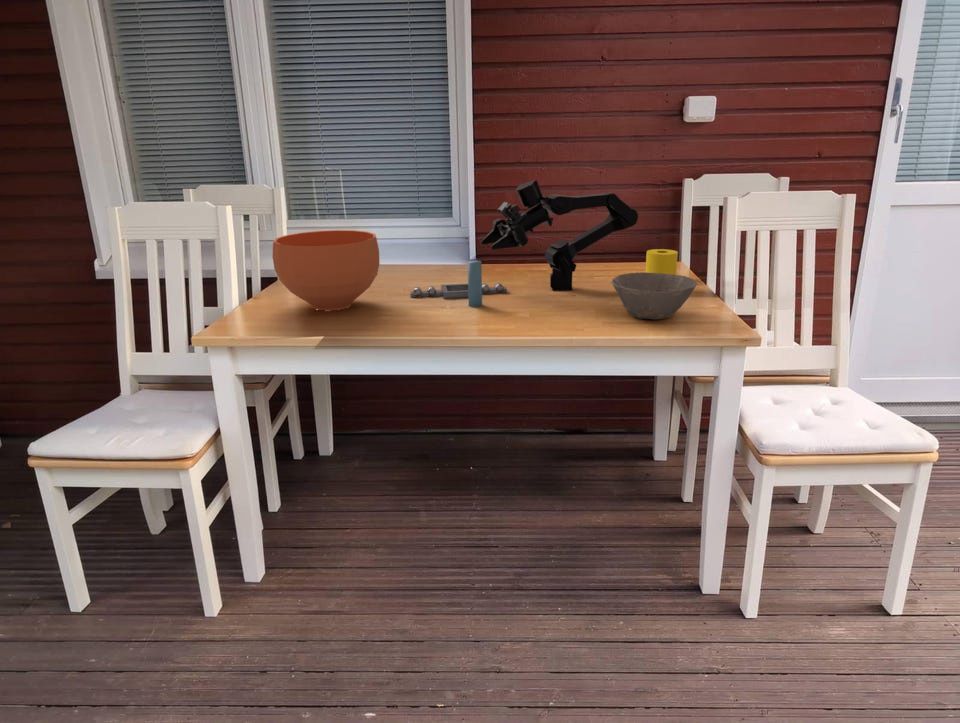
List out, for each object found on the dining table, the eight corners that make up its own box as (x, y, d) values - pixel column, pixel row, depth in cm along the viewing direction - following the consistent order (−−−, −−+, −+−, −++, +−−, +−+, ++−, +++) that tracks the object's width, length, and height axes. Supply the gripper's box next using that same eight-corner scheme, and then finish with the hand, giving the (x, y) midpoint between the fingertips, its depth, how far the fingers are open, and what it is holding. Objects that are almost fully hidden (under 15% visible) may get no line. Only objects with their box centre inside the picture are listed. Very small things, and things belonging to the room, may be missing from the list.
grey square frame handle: (503, 287, 214) (503, 280, 213) (509, 295, 204) (508, 287, 203) (410, 292, 210) (409, 284, 209) (411, 300, 201) (410, 292, 200)
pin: (482, 303, 196) (481, 260, 191) (481, 307, 192) (481, 263, 187) (469, 303, 196) (468, 260, 191) (468, 307, 192) (467, 263, 188)
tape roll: (668, 284, 214) (670, 255, 211) (640, 280, 220) (641, 252, 217) (680, 278, 222) (682, 250, 219) (652, 275, 228) (654, 248, 224)
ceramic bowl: (690, 307, 187) (693, 272, 184) (696, 330, 166) (700, 292, 163) (611, 304, 192) (613, 270, 189) (608, 326, 171) (610, 289, 168)
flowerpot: (384, 316, 184) (378, 243, 177) (274, 323, 180) (264, 248, 173) (381, 291, 212) (376, 227, 205) (286, 297, 208) (278, 232, 201)
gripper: (507, 193, 205) (465, 218, 203) (531, 199, 188) (485, 226, 187) (522, 225, 210) (481, 249, 208) (545, 233, 193) (501, 259, 191)
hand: (486, 245), depth 198 cm, fingers open, 9 cm apart
